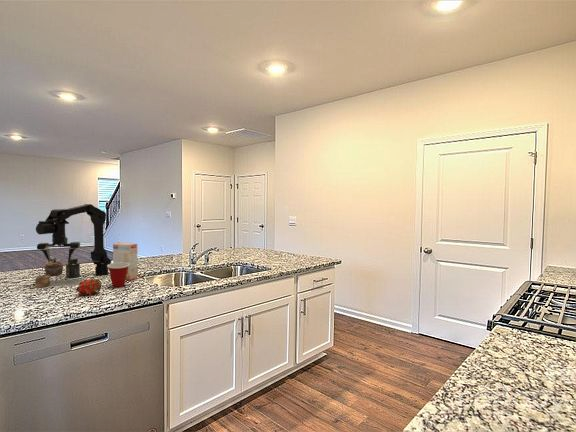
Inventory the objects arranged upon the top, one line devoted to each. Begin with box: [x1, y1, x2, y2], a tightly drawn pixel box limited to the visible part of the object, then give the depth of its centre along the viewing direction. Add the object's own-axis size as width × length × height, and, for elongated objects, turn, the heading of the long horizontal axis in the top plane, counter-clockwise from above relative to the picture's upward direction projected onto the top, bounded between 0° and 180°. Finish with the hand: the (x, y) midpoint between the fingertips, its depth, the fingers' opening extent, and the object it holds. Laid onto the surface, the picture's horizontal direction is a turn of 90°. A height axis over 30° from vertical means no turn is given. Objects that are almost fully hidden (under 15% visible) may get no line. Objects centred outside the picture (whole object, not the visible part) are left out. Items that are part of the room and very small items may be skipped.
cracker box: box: [112, 242, 138, 281], centre depth 199 cm, size 14×6×21 cm, turn 65°
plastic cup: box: [107, 262, 129, 288], centre depth 181 cm, size 11×11×12 cm
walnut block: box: [34, 274, 51, 289], centre depth 175 cm, size 5×5×5 cm
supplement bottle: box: [65, 257, 81, 280], centre depth 195 cm, size 7×7×12 cm
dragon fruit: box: [75, 277, 102, 296], centre depth 165 cm, size 8×8×12 cm
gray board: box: [37, 278, 85, 289], centre depth 181 cm, size 20×14×1 cm
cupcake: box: [44, 257, 64, 277], centre depth 205 cm, size 10×10×10 cm
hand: (59, 261), depth 182 cm, fingers open, 9 cm apart
